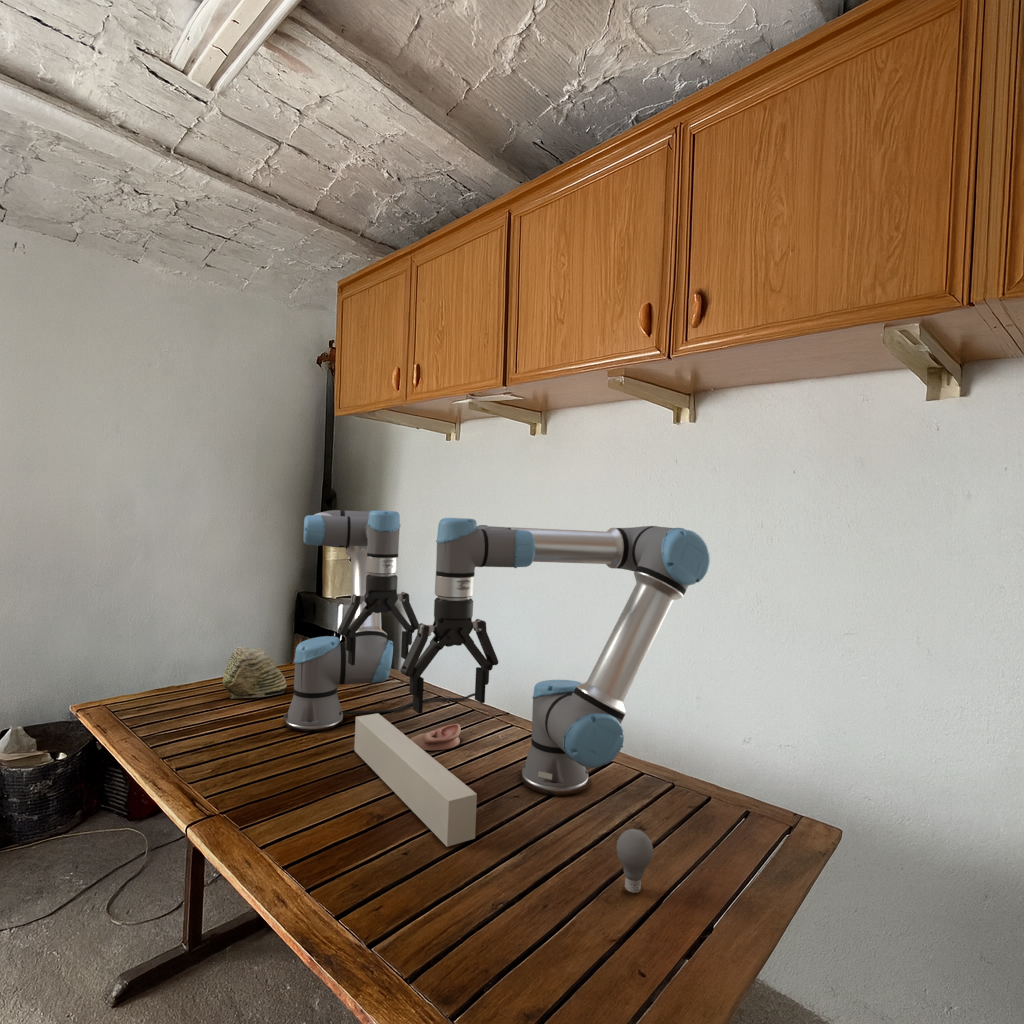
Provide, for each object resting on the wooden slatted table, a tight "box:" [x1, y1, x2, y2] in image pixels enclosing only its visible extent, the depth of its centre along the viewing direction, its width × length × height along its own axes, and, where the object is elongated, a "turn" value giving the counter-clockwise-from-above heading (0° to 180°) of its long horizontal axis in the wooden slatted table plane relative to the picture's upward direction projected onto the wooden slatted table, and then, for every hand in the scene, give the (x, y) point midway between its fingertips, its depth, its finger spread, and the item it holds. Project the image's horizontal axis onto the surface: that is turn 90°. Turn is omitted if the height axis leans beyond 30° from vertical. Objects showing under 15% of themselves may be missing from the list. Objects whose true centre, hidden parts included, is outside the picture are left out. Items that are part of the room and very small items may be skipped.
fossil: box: [222, 646, 288, 699], centre depth 198 cm, size 9×18×15 cm, turn 132°
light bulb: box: [615, 828, 654, 894], centre depth 106 cm, size 6×6×10 cm
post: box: [353, 713, 478, 848], centre depth 139 cm, size 50×6×9 cm, turn 33°
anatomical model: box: [409, 723, 462, 751], centre depth 165 cm, size 13×4×12 cm
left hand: (378, 661), depth 154 cm, fingers open, 13 cm apart
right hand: (449, 706), depth 123 cm, fingers open, 13 cm apart
